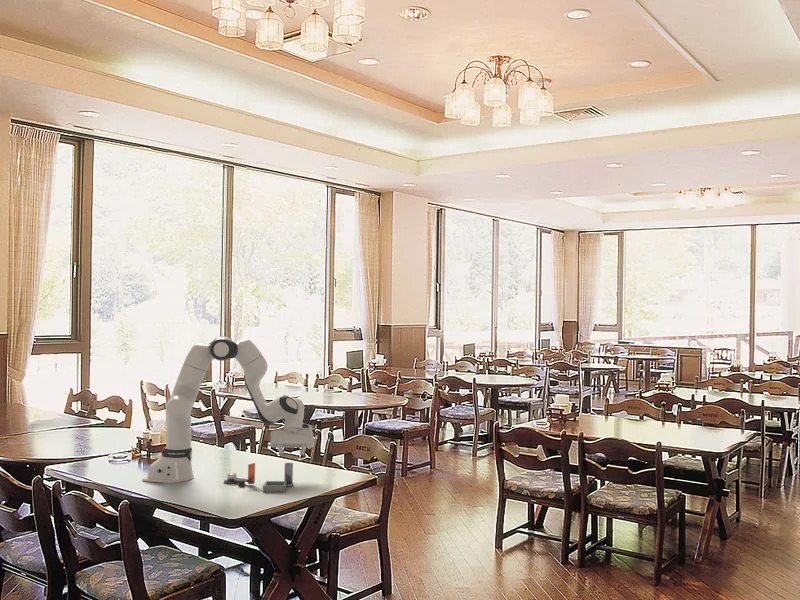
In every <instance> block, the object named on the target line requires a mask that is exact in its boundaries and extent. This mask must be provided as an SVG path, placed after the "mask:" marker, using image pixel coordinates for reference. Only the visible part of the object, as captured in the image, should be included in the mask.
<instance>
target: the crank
mask: <svg viewBox="0 0 800 600" xmlns="http://www.w3.org/2000/svg"><path fill="white" fill-rule="evenodd" d="M237 475H238V474H237V473H235V472H232V473H231V472H230V473H227V479H226V480H228V481H236V480H237V481H240V480H244V481H245V483H247V484H248V485H254V484H255V482H256V481H255V480H256V462H252V463H248V464H247V477H241V476H237Z"/></svg>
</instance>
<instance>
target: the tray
mask: <svg viewBox="0 0 800 600" xmlns="http://www.w3.org/2000/svg"><path fill="white" fill-rule="evenodd" d="M287 488H288V487H287V481H284V480H283V481H282V480H266V481H264V484H263V485H262V493H271V494H273V493H275V494H276V493H280V494H281V493H286V490H287Z"/></svg>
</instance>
